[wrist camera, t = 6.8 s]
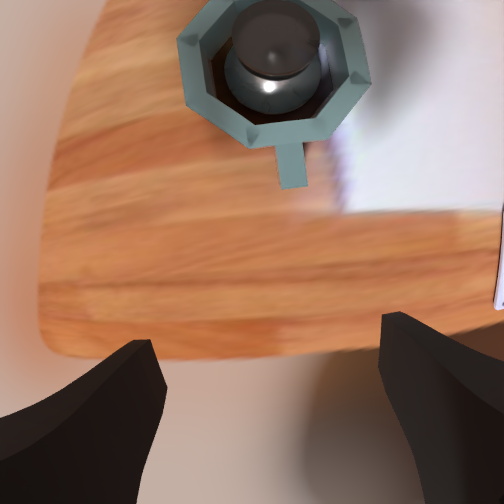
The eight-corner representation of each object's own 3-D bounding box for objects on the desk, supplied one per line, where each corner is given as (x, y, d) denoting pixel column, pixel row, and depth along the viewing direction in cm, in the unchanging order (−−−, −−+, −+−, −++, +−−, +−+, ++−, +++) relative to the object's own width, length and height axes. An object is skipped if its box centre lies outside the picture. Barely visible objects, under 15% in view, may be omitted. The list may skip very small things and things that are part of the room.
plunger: (310, 27, 14) (328, -21, 9) (325, 109, 16) (355, 90, 10) (219, 38, 15) (199, -8, 9) (232, 121, 16) (217, 106, 10)
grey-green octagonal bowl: (332, 4, 14) (345, -22, 10) (362, 172, 17) (384, 178, 14) (187, 22, 14) (171, -2, 11) (213, 191, 18) (201, 201, 14)
